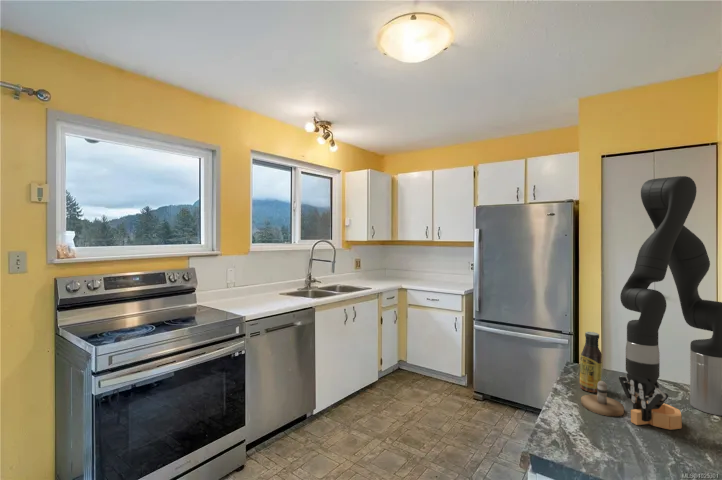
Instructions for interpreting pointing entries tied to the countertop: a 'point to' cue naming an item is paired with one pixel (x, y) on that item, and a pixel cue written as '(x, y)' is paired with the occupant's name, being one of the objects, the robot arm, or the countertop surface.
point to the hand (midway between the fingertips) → (642, 418)
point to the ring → (660, 417)
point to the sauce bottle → (590, 363)
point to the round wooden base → (602, 402)
